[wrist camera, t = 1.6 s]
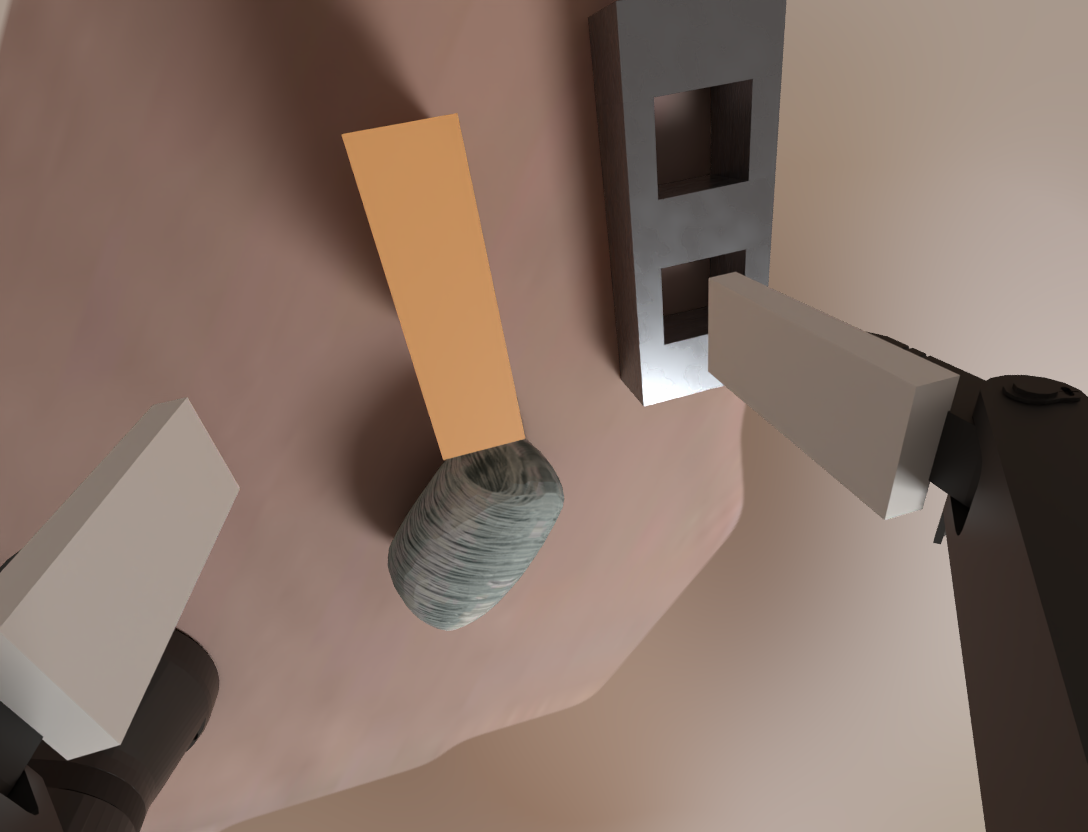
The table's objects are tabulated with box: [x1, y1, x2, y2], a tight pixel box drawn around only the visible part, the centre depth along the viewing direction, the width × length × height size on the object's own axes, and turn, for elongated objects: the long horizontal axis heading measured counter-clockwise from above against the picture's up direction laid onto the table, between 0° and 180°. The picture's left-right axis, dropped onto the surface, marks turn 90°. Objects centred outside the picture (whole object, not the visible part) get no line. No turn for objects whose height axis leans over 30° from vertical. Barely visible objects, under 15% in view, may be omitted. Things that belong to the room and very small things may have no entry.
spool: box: [388, 439, 564, 631], centre depth 34 cm, size 14×10×10 cm
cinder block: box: [588, 0, 786, 406], centre depth 30 cm, size 8×20×4 cm, turn 9°
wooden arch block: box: [341, 113, 525, 460], centre depth 24 cm, size 4×12×12 cm, turn 9°
